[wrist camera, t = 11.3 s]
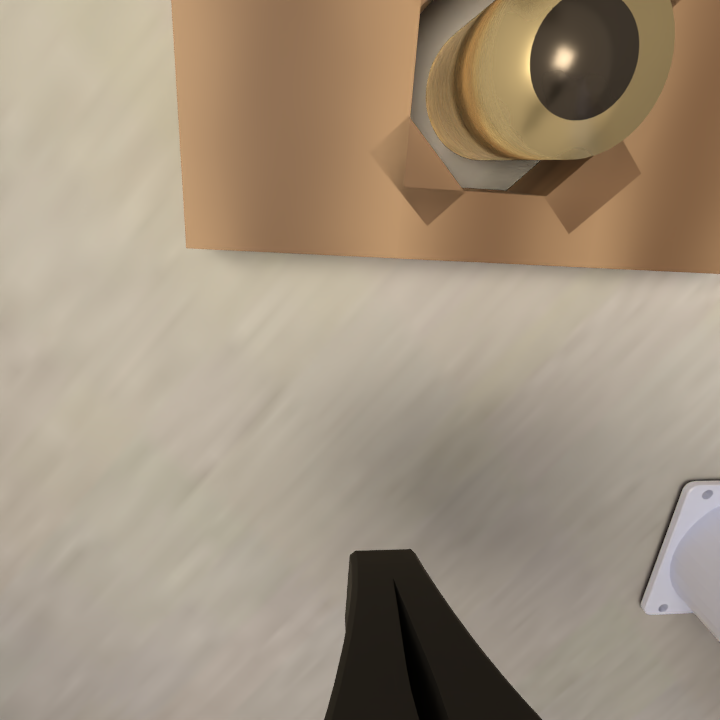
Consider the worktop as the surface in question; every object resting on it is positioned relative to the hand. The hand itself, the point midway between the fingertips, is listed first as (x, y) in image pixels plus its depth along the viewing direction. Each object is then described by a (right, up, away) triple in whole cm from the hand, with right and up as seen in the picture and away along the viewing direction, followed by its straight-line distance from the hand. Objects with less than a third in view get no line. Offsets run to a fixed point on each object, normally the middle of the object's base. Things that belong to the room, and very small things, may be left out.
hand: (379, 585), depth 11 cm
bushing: (+4, +14, +5) cm, 15 cm away
